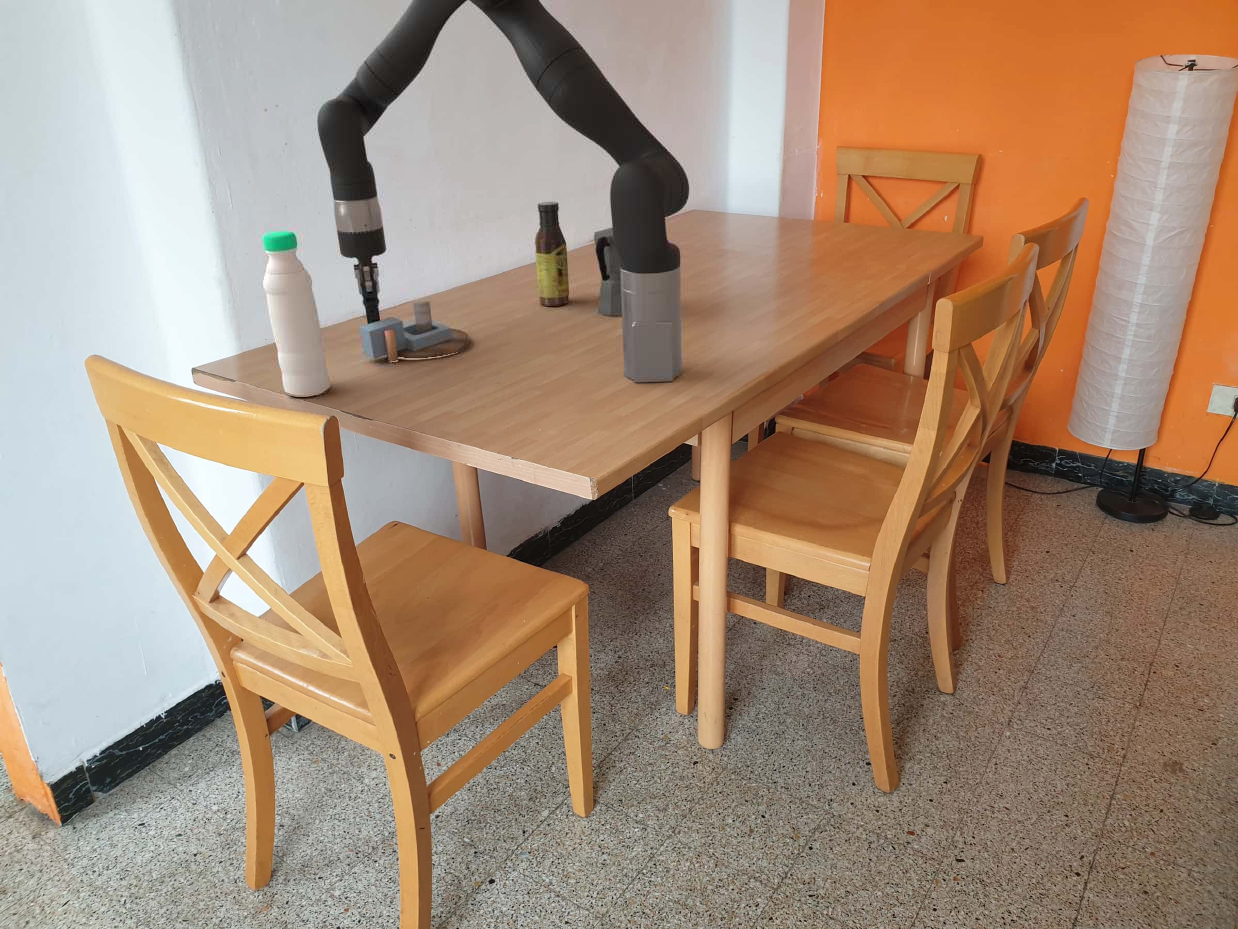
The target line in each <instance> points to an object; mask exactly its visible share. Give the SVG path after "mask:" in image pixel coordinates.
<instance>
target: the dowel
mask: <svg viewBox="0 0 1238 929" xmlns="http://www.w3.org/2000/svg"><path fill="white" fill-rule="evenodd" d="M384 333H385V339H386V346H387V353H388V356H387V360H388V362H389V361H396V360H398V361H399V359H398V355H397V348H396V341H395V334H394V330H392V329H389V330H385V331H384Z"/></svg>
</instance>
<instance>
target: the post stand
mask: <svg viewBox="0 0 1238 929" xmlns="http://www.w3.org/2000/svg"><path fill="white" fill-rule="evenodd" d="M430 303H431V302H430V301H428V300H418V301H415V302H413V304H412V305H413V311H414V312H413V313H414V321H416V327H417V335H420V334H423V333H426V332H429V331H432V330H433V326H432V320H433V318H432V313H431V312H432V311H431V304H430ZM451 331H452V339H449V340H446V341H443V342H440V343H437V344H435V345H432V346H429V347H426V348H423V349H420V350H417V351H412V350H410V349H408V348H405V349H402V350H399V351H397V355H398V357H404V358H428V357H437V356H443V355H448V354H452V353H456V352H459V351H461V350H463V349H465V348H466V347H467V346H468V345H469V346H470V338H469V334H468V333H466V332H465V331H463V330H461V329H455V328H451ZM417 335H414V336H417ZM469 346H468V347H469ZM468 347H467V348H468ZM467 348H466V349H467ZM466 349H465V350H466ZM463 351H464V350H463ZM461 352H462V351H461ZM459 353H460V352H459Z"/></svg>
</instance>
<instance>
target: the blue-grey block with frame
mask: <svg viewBox="0 0 1238 929" xmlns="http://www.w3.org/2000/svg"><path fill="white" fill-rule="evenodd" d="M432 326H433V330H432V331H429V332H426V333H423V334H420V335H417V327H416V320H413V321H410V322H407V323H405V324H404V322H403V320H401V319H399V318H396V317H394V316H391V317H387V318H384V319H380V321H377V322H374V323H370V324H368V323H367V324H364V325H361V326H359V333H360V339H361V344H362V349H363V354H364V355H365V356H367V357H369V358H371V359H373V360H375V359H379V358H382V357H384V356H387V355H388V353H387V346H386V339H385V333H384V331H385V330H389V329H392V330H394V334H395V341H396V348H397V351H399V350H402V349H405V348H408V349H410V350H412V351H417V350H420V349H423V348H426V347H429V346H432V345H435V344H437V343H440V342H443V341H446V340H449V339H452V331H451V329H452V327H451V326H447V325H445V324H444V323H440V322H438V321H435V320H433V319H432ZM414 335H417V336H414Z"/></svg>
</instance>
